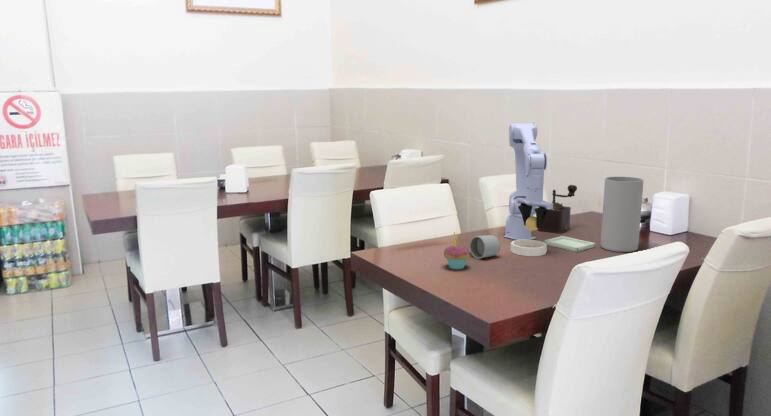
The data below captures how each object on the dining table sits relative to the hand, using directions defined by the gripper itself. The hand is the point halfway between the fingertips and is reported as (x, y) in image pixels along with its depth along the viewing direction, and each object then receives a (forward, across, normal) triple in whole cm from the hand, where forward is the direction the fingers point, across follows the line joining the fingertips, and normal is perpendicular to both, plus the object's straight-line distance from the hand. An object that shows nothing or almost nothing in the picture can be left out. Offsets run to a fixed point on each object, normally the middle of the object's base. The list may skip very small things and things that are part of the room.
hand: (533, 226), depth 202 cm
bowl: (+9, 0, -2) cm, 9 cm away
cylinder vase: (+9, +16, +28) cm, 33 cm away
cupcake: (+9, -2, -35) cm, 36 cm away
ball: (-1, 0, 0) cm, 1 cm away
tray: (+9, +4, +16) cm, 19 cm away
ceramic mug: (+9, -6, -18) cm, 22 cm away
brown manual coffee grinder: (+9, -17, +35) cm, 40 cm away
